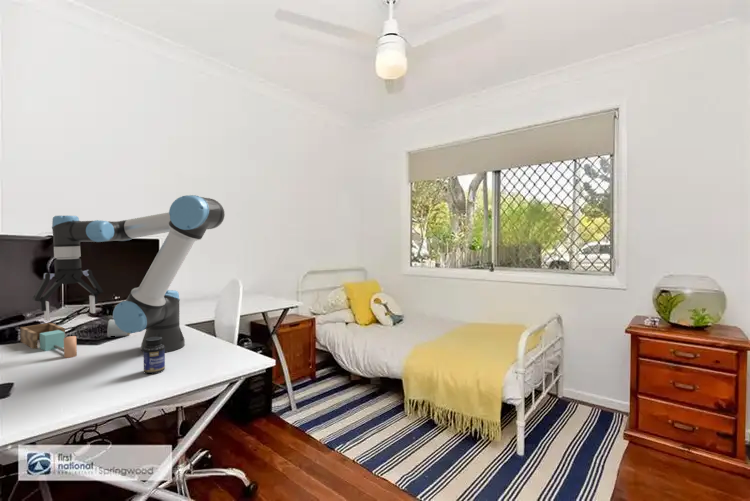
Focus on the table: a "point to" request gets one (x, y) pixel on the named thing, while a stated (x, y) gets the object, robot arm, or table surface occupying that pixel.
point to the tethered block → (59, 343)
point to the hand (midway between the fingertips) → (70, 316)
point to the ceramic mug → (115, 329)
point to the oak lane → (36, 333)
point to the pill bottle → (154, 355)
